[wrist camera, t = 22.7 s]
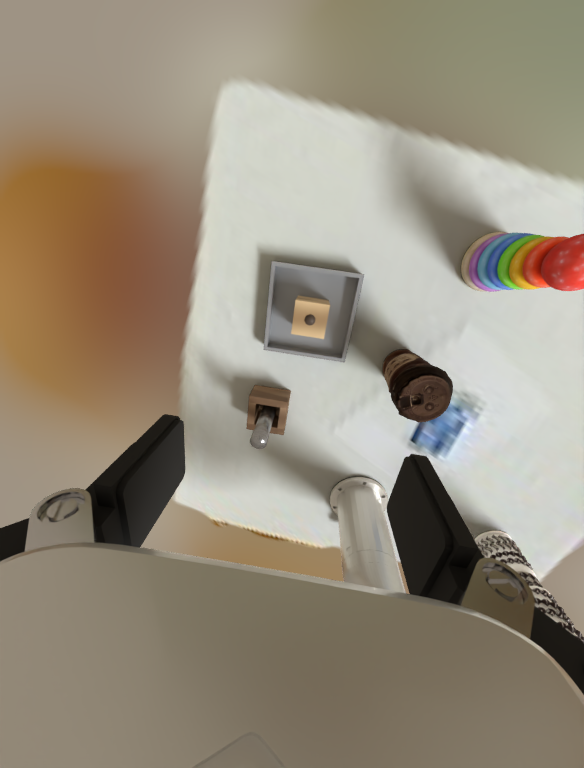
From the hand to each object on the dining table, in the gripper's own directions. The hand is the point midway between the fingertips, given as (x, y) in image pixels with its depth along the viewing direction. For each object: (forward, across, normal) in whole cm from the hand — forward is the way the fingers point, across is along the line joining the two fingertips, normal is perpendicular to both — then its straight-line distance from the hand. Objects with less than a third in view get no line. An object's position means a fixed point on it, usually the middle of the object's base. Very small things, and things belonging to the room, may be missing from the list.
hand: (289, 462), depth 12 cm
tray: (+38, 0, 0) cm, 38 cm away
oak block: (+38, 0, 0) cm, 38 cm away
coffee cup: (+38, -17, +7) cm, 43 cm away
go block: (+39, +5, +19) cm, 43 cm away
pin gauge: (+38, +5, +19) cm, 42 cm away
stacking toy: (+38, -25, -11) cm, 47 cm away
